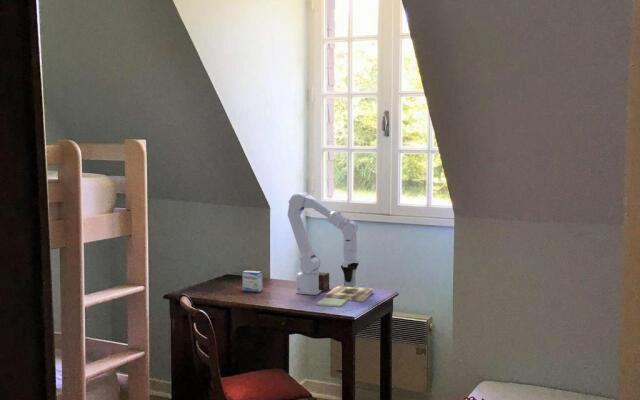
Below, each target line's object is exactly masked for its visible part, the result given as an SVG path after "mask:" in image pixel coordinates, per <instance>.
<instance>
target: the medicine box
mask: <svg viewBox="0 0 640 400" xmlns="http://www.w3.org/2000/svg"><path fill="white" fill-rule="evenodd" d="M242 291H243V292H251V293H253V292H254V293H259V292H261V291H263V271H259V270H244V271H242Z"/></svg>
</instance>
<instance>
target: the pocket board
mask: <svg viewBox="0 0 640 400" xmlns="http://www.w3.org/2000/svg"><path fill="white" fill-rule="evenodd" d="M373 291H374V290H373V288H370V287H369V288H368V287H356V286H354V287H344V285H342V286H341V285H338V286H336V287H334V288H332V289H331V290H330V291H328V292H327V293H326V294H325V295H326V297H325V298H335V299H348V301H352V302H353V301H354V302H364V301H365V300H367V298H369V297H370V296H372V294H374V293H373Z"/></svg>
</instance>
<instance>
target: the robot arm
mask: <svg viewBox="0 0 640 400" xmlns="http://www.w3.org/2000/svg"><path fill="white" fill-rule="evenodd" d="M287 209H288V210H287V217H288V220H289V223H290V226H291V227H290V228H291V229H292V233H293V235H294V238H295V241H296V244H297V247H298V250H299V253H300V254H299V255H300V256H299V262H300V264H299V267H300V270H301V271H299V272H298V273H297V274H296V279H295V280H296V283H295V284H296V285H295V286H296V291H295V294H299V295H311V296H312V295H313V296H317V295H318V294H319V293H321V292H323V291H322V290H319V272H320V271H319V268H320V267H321V260H320V258H319V257H318V256H317V254H316V252H315V251H314V250H313V249H312V248H313V247H312V246H311V245H312V244H311V243H310V240H309V237H308V234H307V231H306V228H305V225H304V222H303V219H302V216H301V215H302V213H303V212H304V210H305V209H313V210H315V211H316V212H317V213H319V214H321V215H323V216H325V217H326V218H327V221H328V223H330V224H332V225H333V226H334V227H336V228H337V229H339V230H340V231H341V233H342V234H343V237H342V238H343V239H342V241H343V244H342V249H343V250H342V256H343V257H342V258H343V259H342V264H341V265H340V269H342V270H341V271H342V273H343V277H344V276H345V281H346V282H351V278H352V272H353V269H356V270H357V269H358V266H359V262H360V259H357V256H358V255H357V252H358V251H357V249H358V248H357V244H358V242H357V241H358V240H357V232H358V230H359V225H358V223H357V222H356V221H355V220H351V219H350V218H349V217H346V216H344V215H343V214H342V212H341V211H340V210H338V211H337V210H331V209H329V208H328V207H327V206H326V205H324V204H323V203H321V202H320V201H319V200H318V199H316V197H315V196H314V195H310V194H309V193H308V192H305V191H301V192H299V193H294V194H293V195H292V196H291V197H290V199H289V200H288V208H287Z"/></svg>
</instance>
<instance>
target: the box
mask: <svg viewBox="0 0 640 400" xmlns="http://www.w3.org/2000/svg"><path fill="white" fill-rule="evenodd" d="M329 289H330V272H324V271H323V272H322V271H319V290H322V291H321V292H325V291H328V290H329Z"/></svg>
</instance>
